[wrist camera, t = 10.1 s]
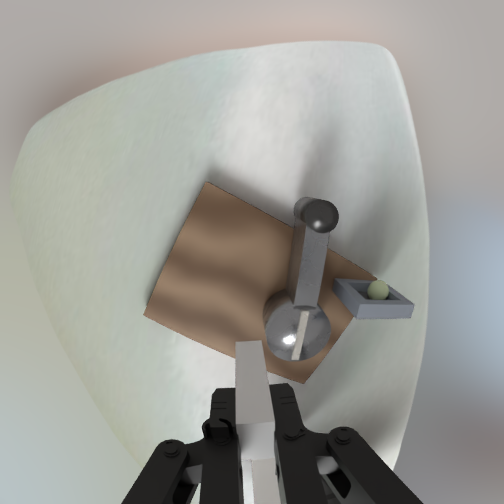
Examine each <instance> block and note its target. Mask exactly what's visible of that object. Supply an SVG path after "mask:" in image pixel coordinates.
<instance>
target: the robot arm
mask: <svg viewBox="0 0 504 504" xmlns="http://www.w3.org/2000/svg"><path fill="white" fill-rule="evenodd" d="M202 431H203V434H204V438H203V439H202V440H200V441H197V442H194V443H190V444H184V443H183V442H181V441H179V440H173V439H170V440H165V441H163V442H161V443H160V444H159V445H158V446H157V447H156V449H155V450H154V452H153V454H152V455H151V457H150V459H149V460H148V462H147V463H146V465H145V467H144V468H143V470H142V472H141V473H140V475H139V476H138V478H137V480H136V481H135V483H134V484H133V486H132V488H131V489H130V491H129V492H128V494H127V496H126V497H125V499H124V500H123V502H122V503H121V504H190V503H191V500H192V498H193V496H194V494H195V491H196V489H197V487H198V484H199V483H201V489H200V502H199V504H244V496H243V474H242V465H241V460H257V459H270V458H275V461H276V470H275V475H277V481H278V488H279V495H280V502H281V504H423V503H422V502H421V501H420V500H419V498H417V496H416V495H415V494H414V493H413V492H412V491H411V490H410V489H409V488H408V487H407V486H406V485H405V484H404V483H403V482H402V481H401V480H400V479H399V478H398V476H397V475H395V473H394V472H393V471H392V470H391V469H390V468H389V467H388V466H387V465H386V464H385V462H384V461H383V460H382V459H381V458H380V457H379V456H378V455H377V454H376V453H375V452H374V450H373V449H372V448H371V447H370V446H369V445H368V444H367V443H366V441H365V440H364V439H363V438H362V437H361V436H360V435H359V434H358V432H357V431H355V430H354V429H352V428H349V427H338V428H335V429H333V430H332V431H330V433H329V434H324V433H315V432H312V431H310V430H308V429H307V428H306V427H305V426H304V425H303V423H302V419H301V415H300V412H299V408H298V405H297V401H296V397H295V394H294V390H293V388H292V387H291V386H290V385H289V384H288V383H283V384H273V385H269V383H268V377H267V371H266V365H265V359H264V352H263V346H262V340H258V341H243V342H236V388H217V389H216V390H215V392H214V393H213V394H212V400H211V410H210V418H209V419H207V420H206V421H205V422H204V423H203V425H202Z"/></svg>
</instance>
